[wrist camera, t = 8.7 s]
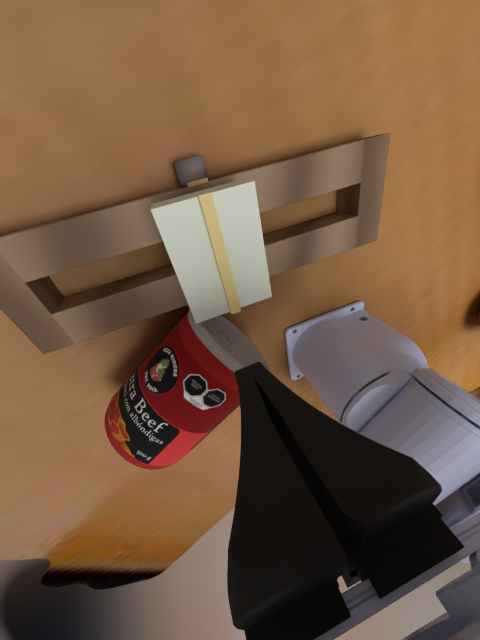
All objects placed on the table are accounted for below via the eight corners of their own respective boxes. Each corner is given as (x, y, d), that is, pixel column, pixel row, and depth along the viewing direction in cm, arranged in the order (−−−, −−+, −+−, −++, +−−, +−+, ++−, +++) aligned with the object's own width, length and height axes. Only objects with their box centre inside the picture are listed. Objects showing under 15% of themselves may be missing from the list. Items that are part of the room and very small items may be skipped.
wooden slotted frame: (363, 115, 16) (393, 106, 14) (354, 248, 22) (374, 255, 20) (-43, 217, 13) (-80, 225, 11) (67, 346, 18) (56, 367, 16)
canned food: (92, 388, 19) (178, 289, 17) (168, 392, 25) (236, 321, 23) (111, 488, 14) (230, 370, 12) (197, 462, 21) (284, 381, 19)
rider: (225, 179, 15) (256, 179, 11) (244, 270, 19) (274, 299, 14) (151, 199, 15) (150, 208, 10) (186, 289, 18) (196, 327, 14)
